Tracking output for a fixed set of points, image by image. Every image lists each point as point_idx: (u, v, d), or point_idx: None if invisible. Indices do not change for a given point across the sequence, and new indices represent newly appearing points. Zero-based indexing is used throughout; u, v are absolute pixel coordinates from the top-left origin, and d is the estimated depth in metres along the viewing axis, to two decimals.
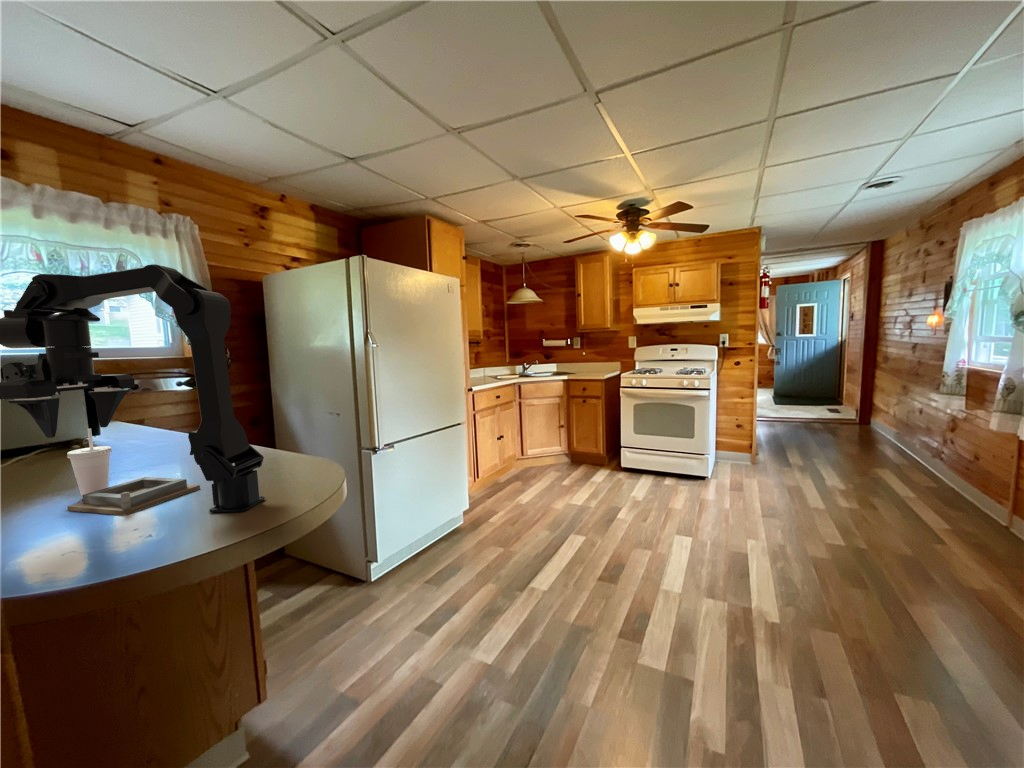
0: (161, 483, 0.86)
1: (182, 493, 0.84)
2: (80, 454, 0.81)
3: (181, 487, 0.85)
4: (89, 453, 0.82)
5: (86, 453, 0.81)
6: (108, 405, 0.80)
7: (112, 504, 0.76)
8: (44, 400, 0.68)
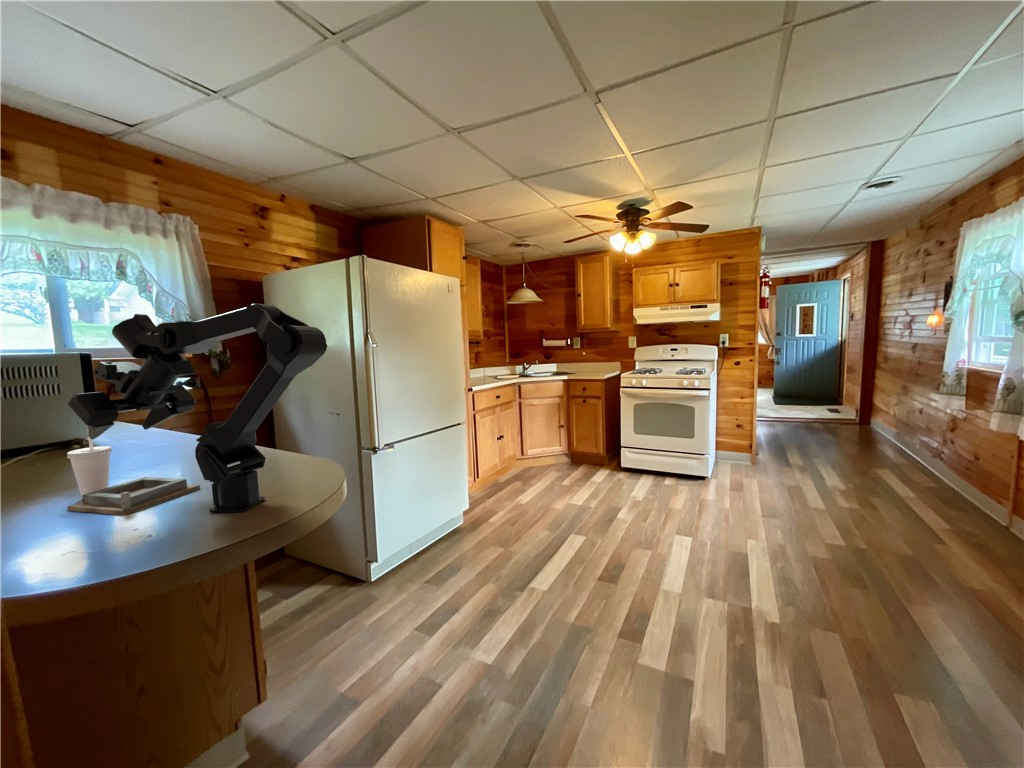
0: (161, 483, 0.86)
1: (182, 493, 0.84)
2: (80, 454, 0.81)
3: (181, 487, 0.85)
4: (89, 453, 0.82)
5: (86, 453, 0.81)
6: (158, 417, 0.85)
7: (112, 504, 0.76)
8: (99, 426, 0.73)
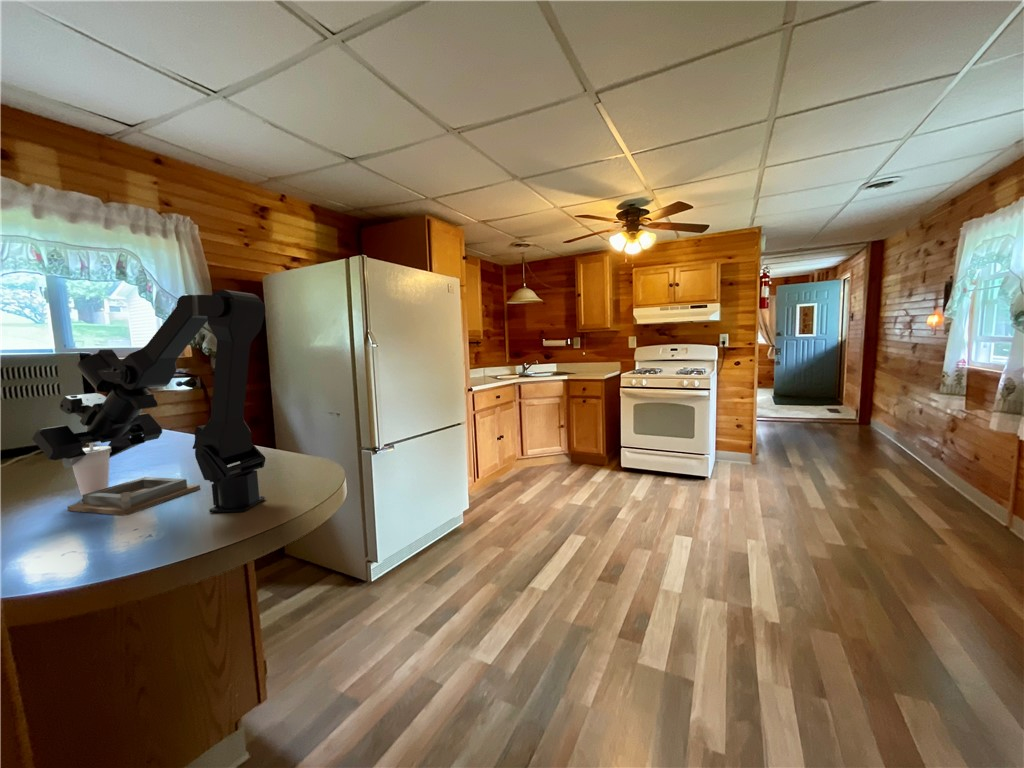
0: (161, 483, 0.86)
1: (182, 493, 0.84)
2: None
3: (181, 487, 0.85)
4: (89, 453, 0.82)
5: (86, 453, 0.81)
6: (118, 447, 0.87)
7: (112, 504, 0.76)
8: (71, 457, 0.77)
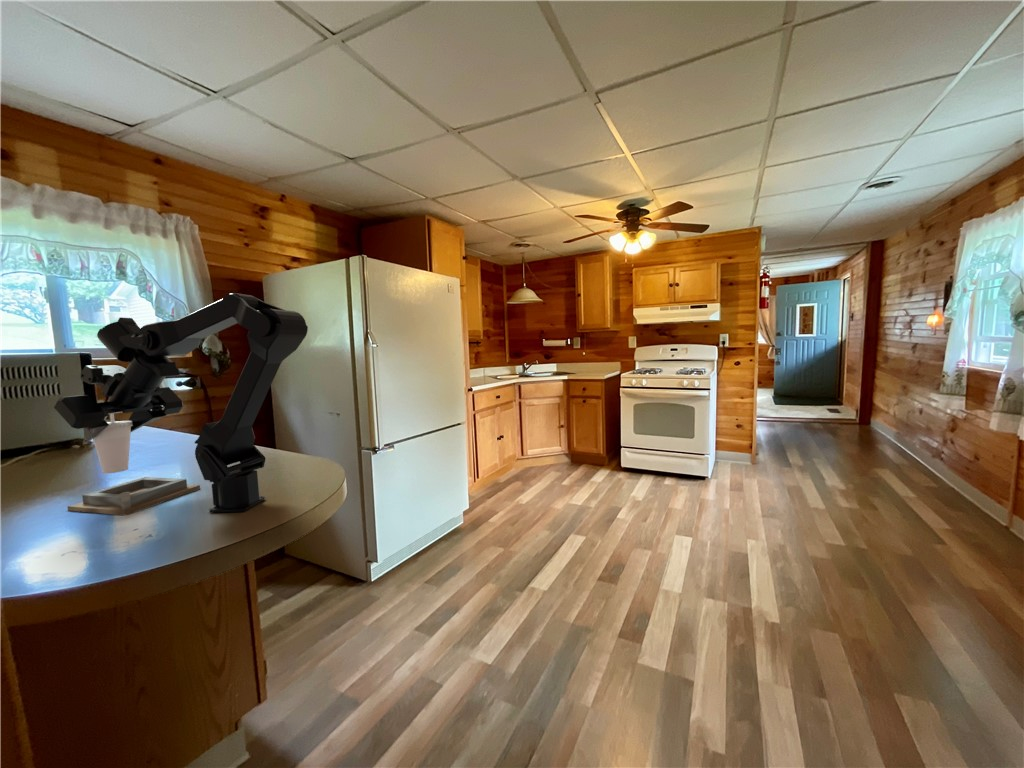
0: (161, 483, 0.86)
1: (182, 493, 0.84)
2: None
3: (181, 487, 0.85)
4: (110, 425, 0.80)
5: None
6: (139, 421, 0.85)
7: (112, 504, 0.76)
8: (94, 427, 0.75)
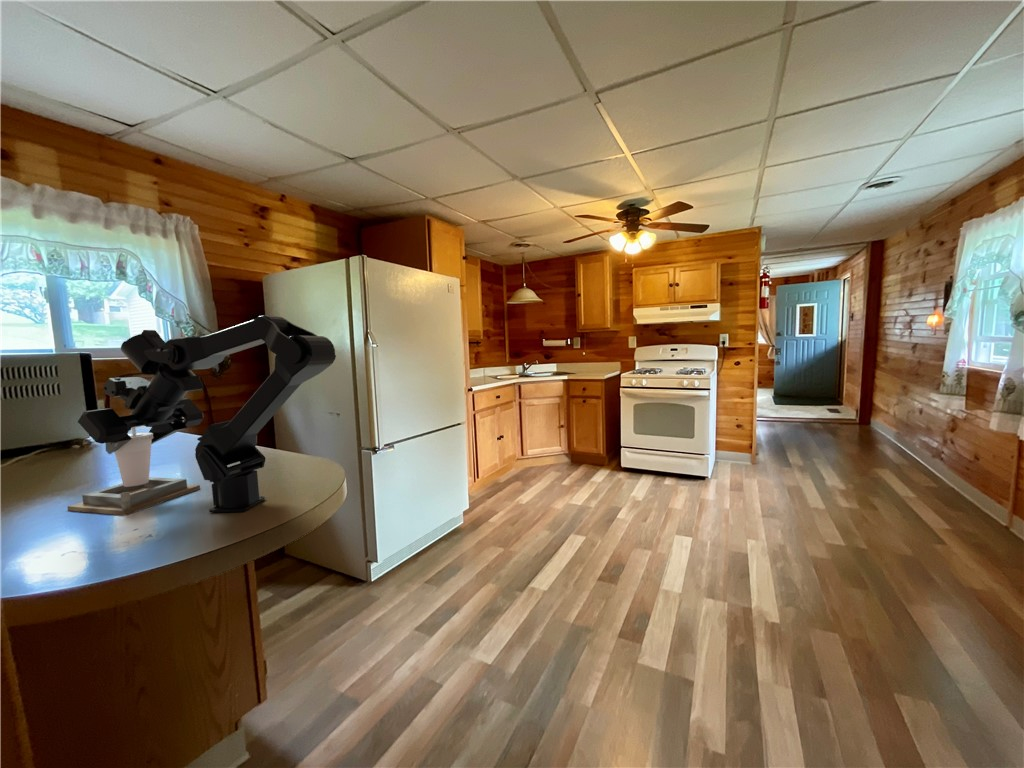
0: (161, 483, 0.86)
1: (182, 493, 0.84)
2: None
3: (181, 487, 0.85)
4: (132, 438, 0.79)
5: None
6: (160, 433, 0.84)
7: (112, 504, 0.76)
8: (117, 441, 0.74)
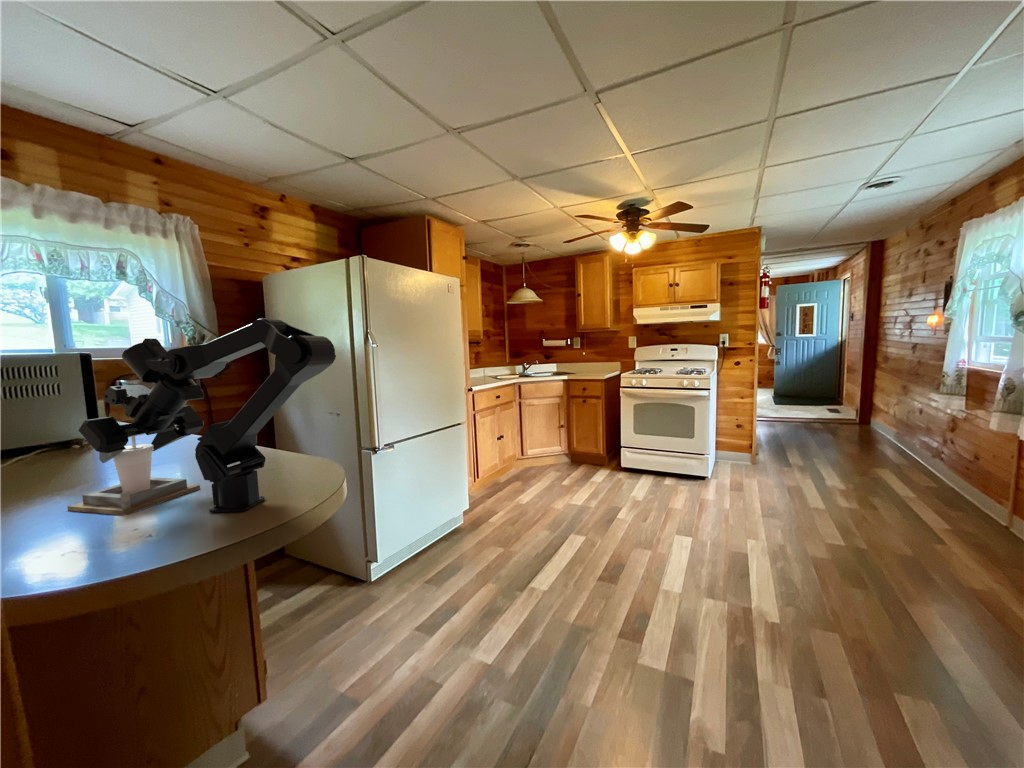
0: (161, 483, 0.86)
1: (182, 493, 0.84)
2: (124, 452, 0.78)
3: (181, 487, 0.85)
4: (133, 451, 0.79)
5: (130, 451, 0.78)
6: (165, 439, 0.85)
7: (112, 504, 0.76)
8: (111, 451, 0.73)
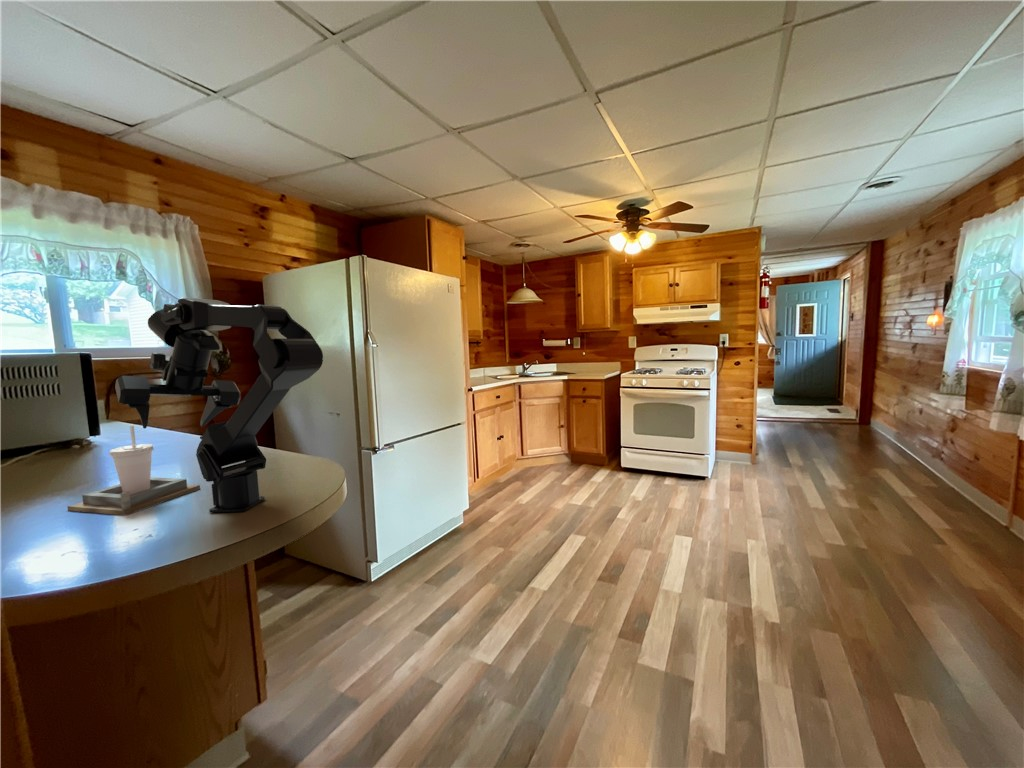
0: (161, 483, 0.86)
1: (182, 493, 0.84)
2: (124, 452, 0.78)
3: (181, 487, 0.85)
4: (133, 451, 0.79)
5: (130, 451, 0.78)
6: (208, 412, 0.85)
7: (112, 504, 0.76)
8: (133, 406, 0.74)
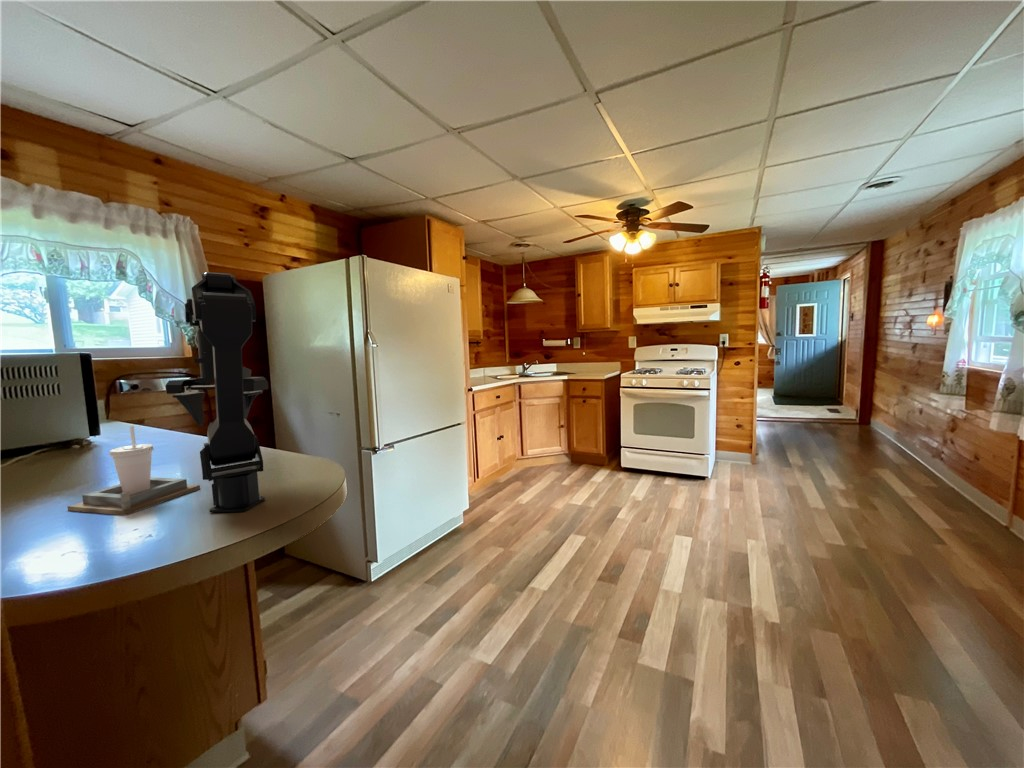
0: (161, 483, 0.86)
1: (182, 493, 0.84)
2: (124, 452, 0.78)
3: (181, 487, 0.85)
4: (133, 451, 0.79)
5: (130, 451, 0.78)
6: None
7: (112, 504, 0.76)
8: (174, 396, 0.86)
